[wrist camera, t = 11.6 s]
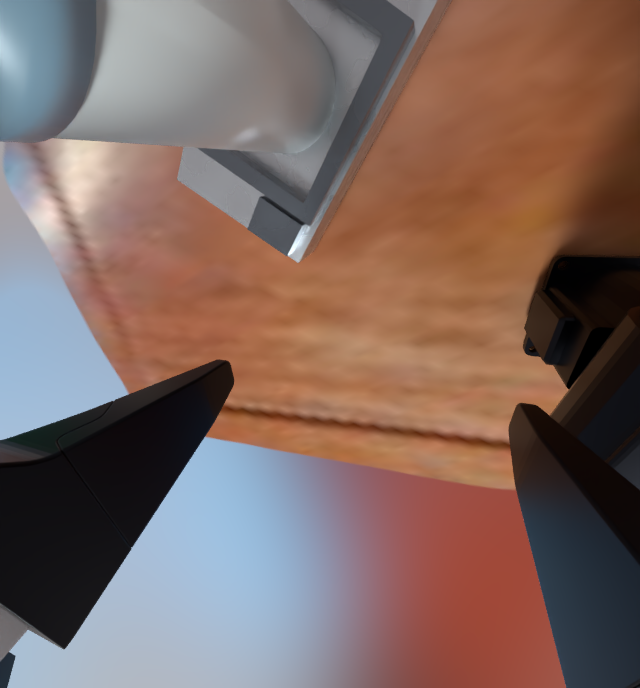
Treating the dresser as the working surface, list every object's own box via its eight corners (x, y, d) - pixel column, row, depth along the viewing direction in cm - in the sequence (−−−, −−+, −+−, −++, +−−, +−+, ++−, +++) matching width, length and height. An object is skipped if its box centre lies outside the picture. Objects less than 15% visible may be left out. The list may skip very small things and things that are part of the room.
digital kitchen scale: (462, -20, 13) (474, -85, 10) (313, 251, 21) (291, 268, 18) (291, -147, 13) (239, -262, 9) (206, 177, 21) (162, 180, 17)
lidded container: (359, 59, 13) (-6, -483, 2) (306, 176, 16) (41, 205, 5) (259, -13, 13) (-712, -1024, 2) (224, 119, 16) (-233, 22, 5)
